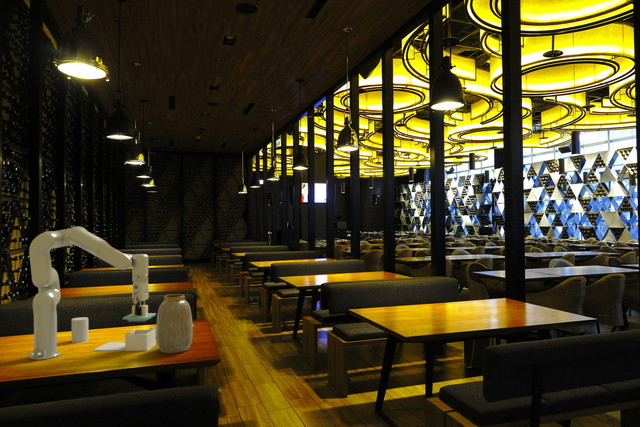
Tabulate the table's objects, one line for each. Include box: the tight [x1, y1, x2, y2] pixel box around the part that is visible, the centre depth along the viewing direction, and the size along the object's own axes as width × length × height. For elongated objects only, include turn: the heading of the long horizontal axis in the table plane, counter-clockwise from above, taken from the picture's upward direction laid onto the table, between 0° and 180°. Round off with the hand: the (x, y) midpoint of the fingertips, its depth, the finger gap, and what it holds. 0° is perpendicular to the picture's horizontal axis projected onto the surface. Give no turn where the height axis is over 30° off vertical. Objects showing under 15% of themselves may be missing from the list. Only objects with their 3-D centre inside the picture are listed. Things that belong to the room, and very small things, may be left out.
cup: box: [71, 316, 89, 344], centre depth 252 cm, size 8×8×12 cm
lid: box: [122, 304, 157, 322], centre depth 236 cm, size 12×12×7 cm
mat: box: [93, 341, 125, 352], centre depth 238 cm, size 15×15×1 cm
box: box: [124, 329, 157, 352], centre depth 236 cm, size 11×11×8 cm
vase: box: [156, 293, 193, 354], centre depth 231 cm, size 17×17×27 cm
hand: (139, 314), depth 236 cm, fingers closed on lid, 3 cm apart
